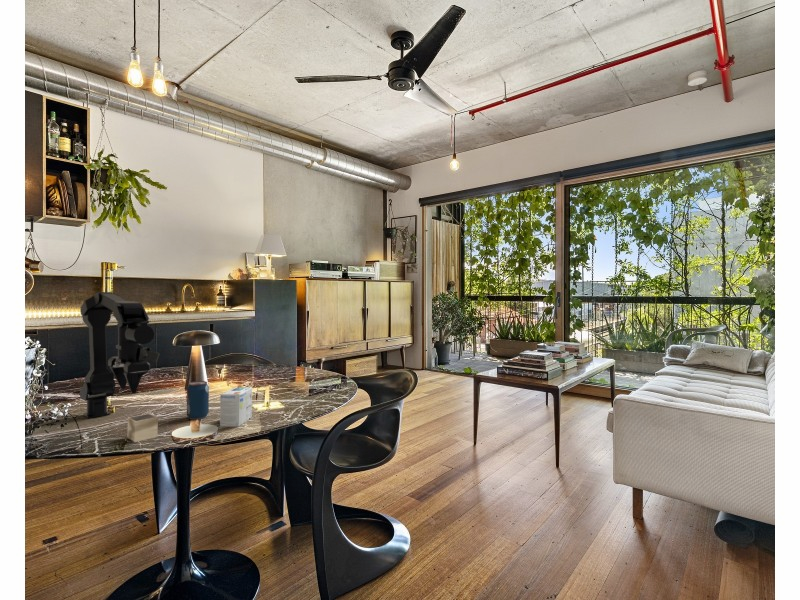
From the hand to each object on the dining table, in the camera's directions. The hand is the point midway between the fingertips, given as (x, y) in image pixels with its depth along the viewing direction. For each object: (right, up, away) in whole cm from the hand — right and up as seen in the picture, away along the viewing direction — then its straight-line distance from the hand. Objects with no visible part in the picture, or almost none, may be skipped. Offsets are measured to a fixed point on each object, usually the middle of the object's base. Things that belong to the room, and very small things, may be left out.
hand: (128, 390), depth 129 cm
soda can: (+15, -12, +13) cm, 24 cm away
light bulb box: (+31, -13, +9) cm, 34 cm away
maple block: (+9, -6, -7) cm, 13 cm away
